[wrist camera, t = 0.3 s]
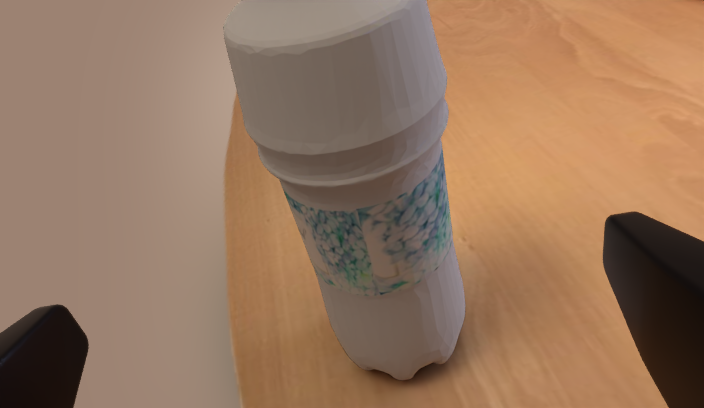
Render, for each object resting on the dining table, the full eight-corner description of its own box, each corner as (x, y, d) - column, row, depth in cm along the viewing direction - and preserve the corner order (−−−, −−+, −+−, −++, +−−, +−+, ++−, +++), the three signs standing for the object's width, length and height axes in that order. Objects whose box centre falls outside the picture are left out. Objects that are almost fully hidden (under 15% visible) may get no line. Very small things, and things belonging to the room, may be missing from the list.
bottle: (340, 288, 29) (194, -128, 16) (463, 274, 27) (413, -185, 15) (333, 403, 24) (110, -71, 11) (483, 391, 22) (434, -150, 10)
